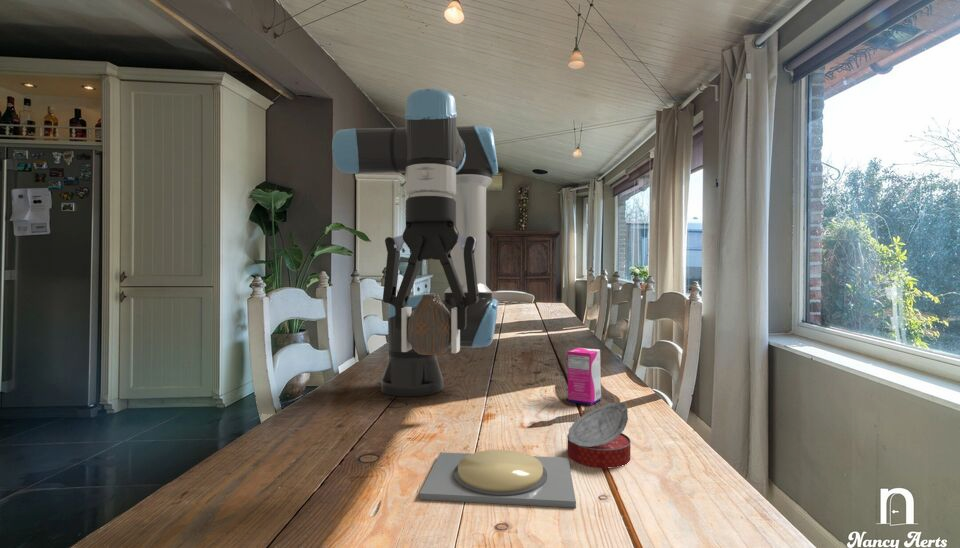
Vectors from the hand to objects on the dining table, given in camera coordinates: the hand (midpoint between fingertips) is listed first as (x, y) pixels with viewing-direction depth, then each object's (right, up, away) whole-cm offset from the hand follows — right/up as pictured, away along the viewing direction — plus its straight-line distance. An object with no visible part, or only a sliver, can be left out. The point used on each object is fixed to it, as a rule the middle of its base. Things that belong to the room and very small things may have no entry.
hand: (430, 350), depth 73 cm
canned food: (+26, -18, +5) cm, 32 cm away
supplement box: (+31, -17, +37) cm, 51 cm away
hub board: (+10, -18, -4) cm, 21 cm away
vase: (0, -1, 0) cm, 1 cm away
